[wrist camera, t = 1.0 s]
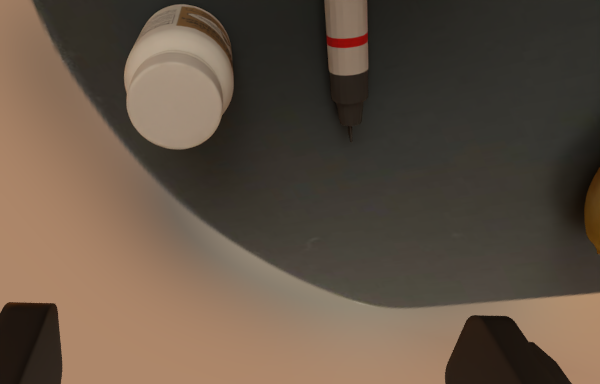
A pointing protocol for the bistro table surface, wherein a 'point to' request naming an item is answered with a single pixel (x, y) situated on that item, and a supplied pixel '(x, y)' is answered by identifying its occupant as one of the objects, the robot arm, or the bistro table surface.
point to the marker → (347, 57)
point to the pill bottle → (179, 77)
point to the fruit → (593, 211)
